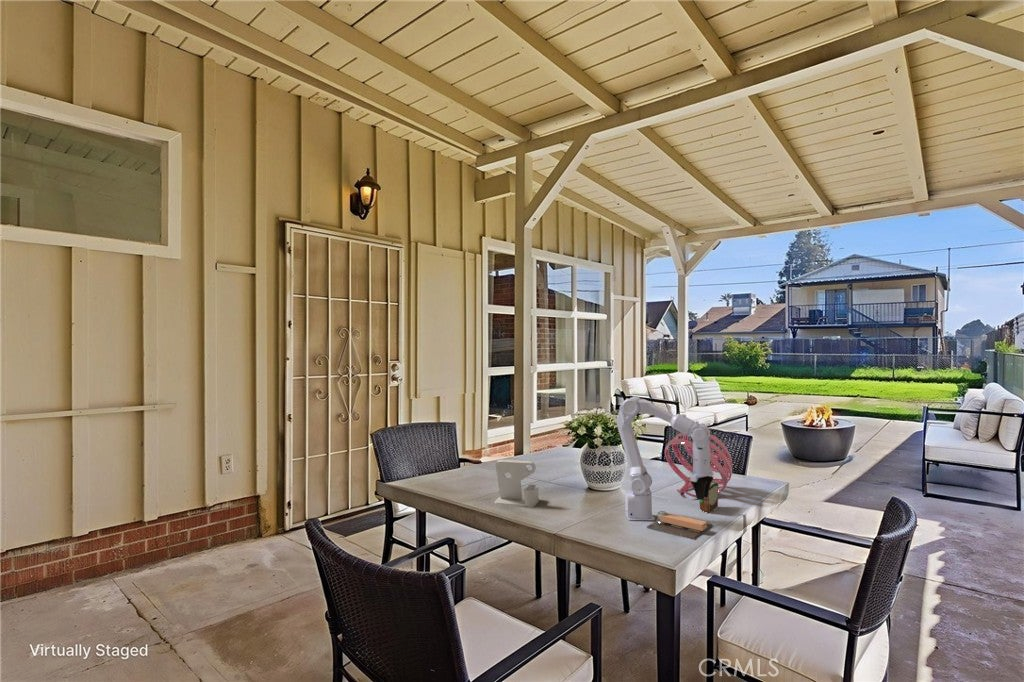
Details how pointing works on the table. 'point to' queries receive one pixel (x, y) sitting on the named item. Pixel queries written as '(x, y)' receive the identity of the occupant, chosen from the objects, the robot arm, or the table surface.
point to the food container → (710, 498)
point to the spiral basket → (716, 467)
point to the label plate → (677, 529)
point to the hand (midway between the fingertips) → (702, 498)
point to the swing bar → (682, 521)
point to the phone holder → (515, 483)
